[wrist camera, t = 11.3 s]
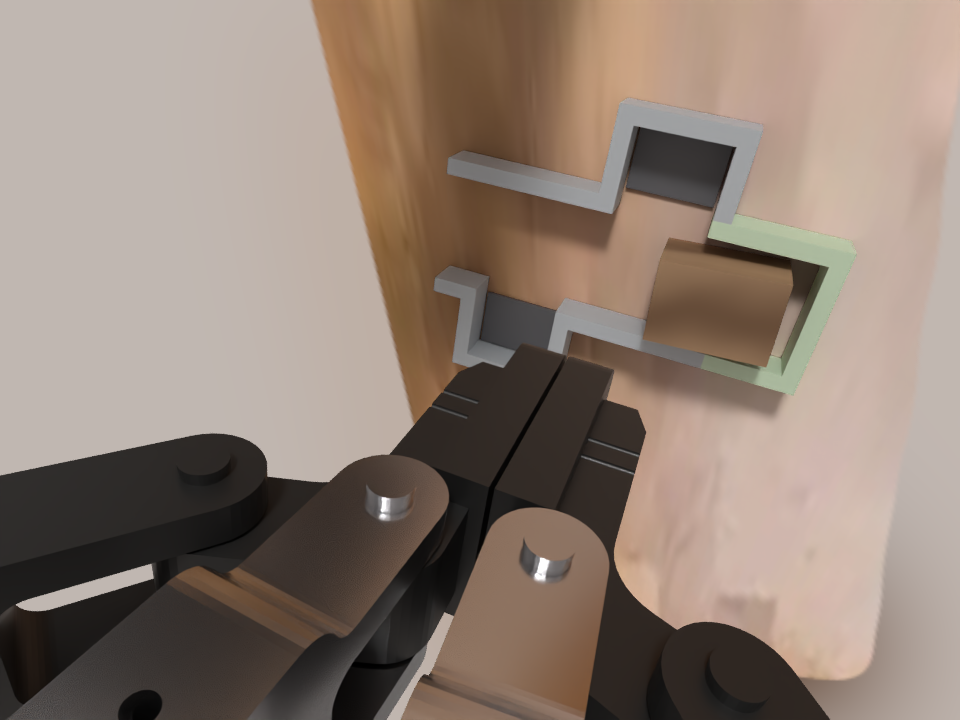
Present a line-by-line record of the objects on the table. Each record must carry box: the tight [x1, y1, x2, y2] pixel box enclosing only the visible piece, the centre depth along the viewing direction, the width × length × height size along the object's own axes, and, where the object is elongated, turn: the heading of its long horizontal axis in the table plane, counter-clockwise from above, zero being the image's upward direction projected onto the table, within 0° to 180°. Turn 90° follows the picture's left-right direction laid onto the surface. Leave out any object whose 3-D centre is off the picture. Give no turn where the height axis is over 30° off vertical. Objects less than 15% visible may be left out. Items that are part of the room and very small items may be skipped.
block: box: [642, 238, 793, 367], centre depth 39 cm, size 5×7×4 cm
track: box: [434, 98, 857, 395], centre depth 41 cm, size 19×24×2 cm
